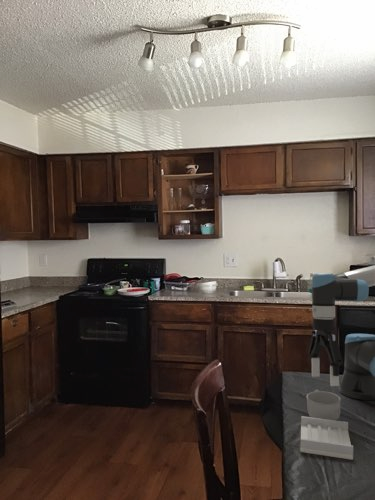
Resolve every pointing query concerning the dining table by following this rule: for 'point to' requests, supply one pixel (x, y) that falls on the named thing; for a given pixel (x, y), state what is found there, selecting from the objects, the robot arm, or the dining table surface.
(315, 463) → the dining table surface
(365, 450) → the dining table surface
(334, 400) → the teacup
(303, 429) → the drying rack
